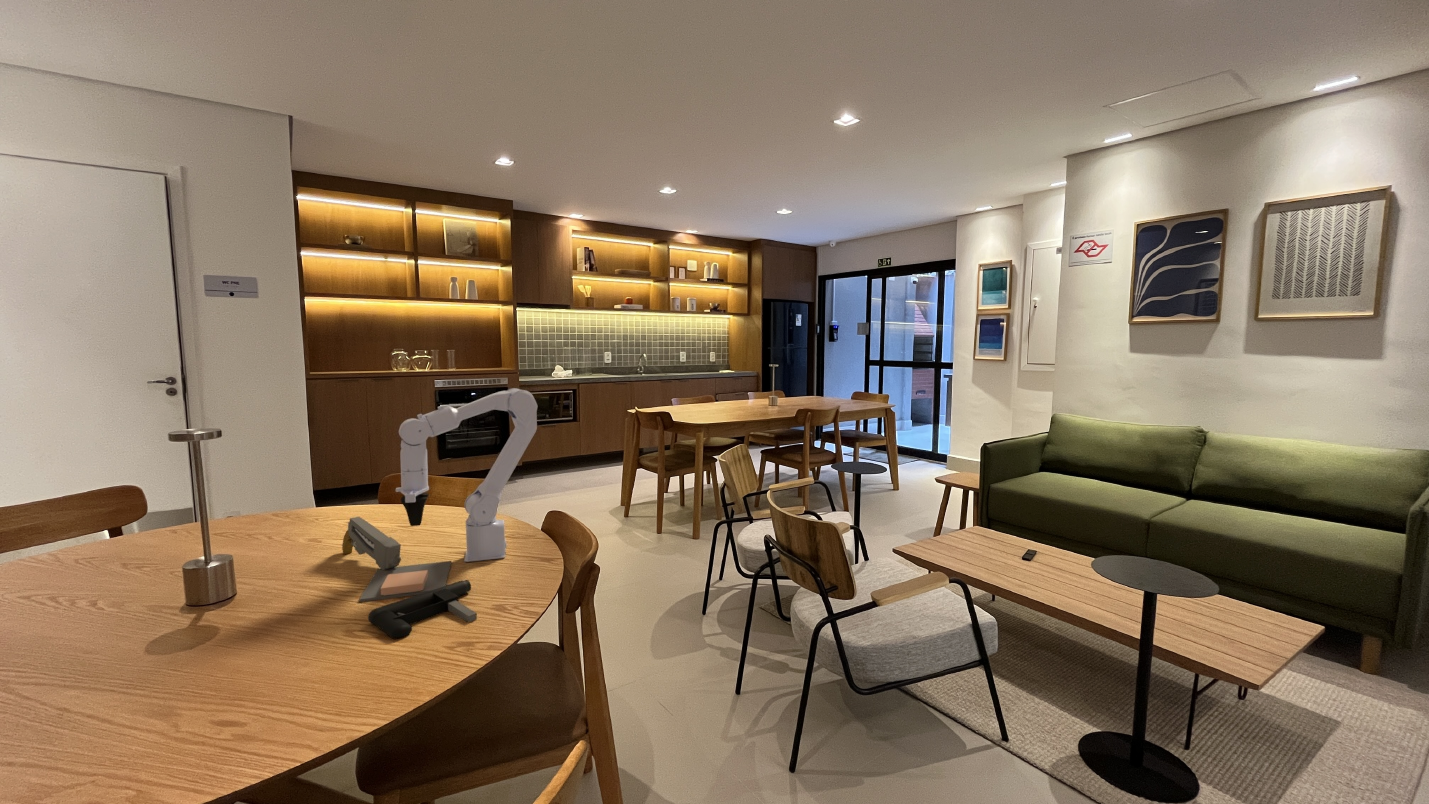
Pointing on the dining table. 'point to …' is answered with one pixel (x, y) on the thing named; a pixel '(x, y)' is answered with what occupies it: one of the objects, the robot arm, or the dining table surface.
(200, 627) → the dining table surface
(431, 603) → the door handle
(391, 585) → the tile
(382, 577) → the mat
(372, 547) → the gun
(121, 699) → the dining table surface
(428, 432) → the robot arm
